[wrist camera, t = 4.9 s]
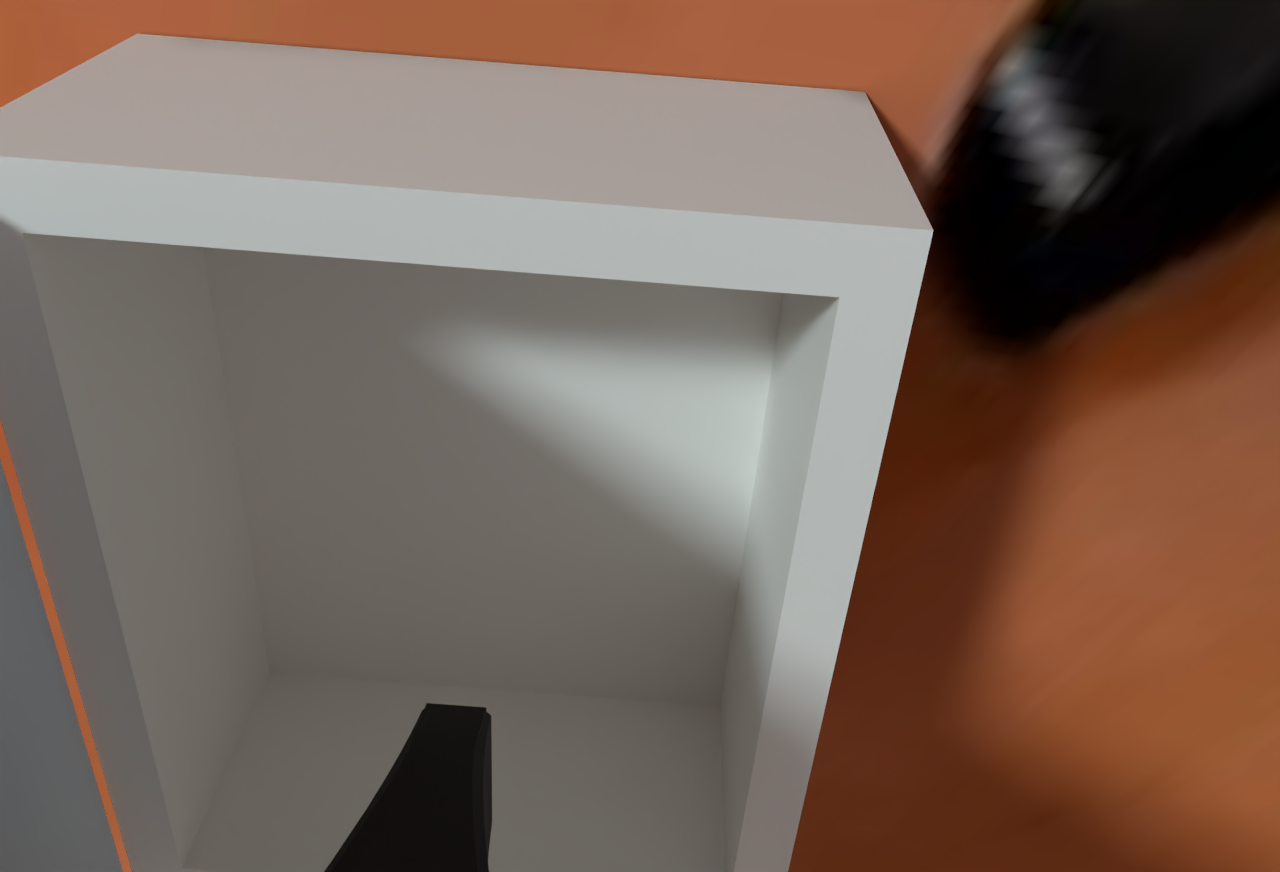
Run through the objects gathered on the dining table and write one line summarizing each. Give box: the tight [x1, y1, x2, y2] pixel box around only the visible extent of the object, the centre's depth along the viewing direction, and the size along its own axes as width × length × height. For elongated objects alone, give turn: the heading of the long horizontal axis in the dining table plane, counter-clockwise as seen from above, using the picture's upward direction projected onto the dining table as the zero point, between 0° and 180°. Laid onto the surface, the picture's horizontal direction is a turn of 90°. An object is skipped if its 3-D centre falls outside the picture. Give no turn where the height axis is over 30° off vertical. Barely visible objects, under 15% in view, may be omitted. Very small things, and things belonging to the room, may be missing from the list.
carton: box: [0, 34, 933, 872], centre depth 16 cm, size 10×12×5 cm
